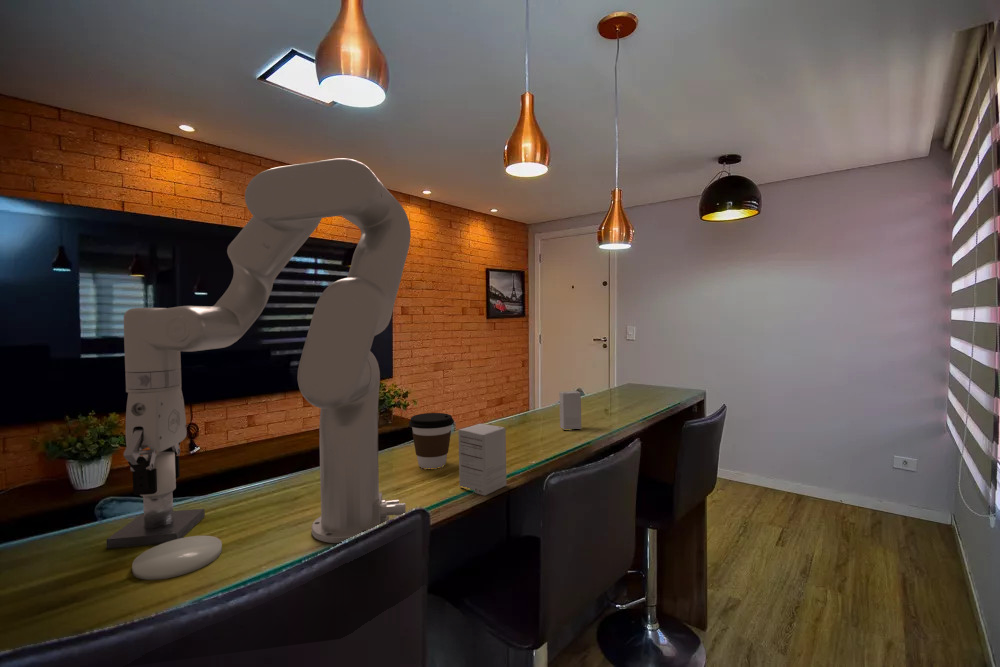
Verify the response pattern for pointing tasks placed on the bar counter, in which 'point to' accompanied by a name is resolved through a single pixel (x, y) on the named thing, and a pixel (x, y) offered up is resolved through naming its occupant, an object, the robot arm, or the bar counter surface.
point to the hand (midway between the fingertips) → (157, 485)
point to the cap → (164, 472)
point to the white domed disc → (176, 557)
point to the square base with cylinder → (156, 523)
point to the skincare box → (570, 410)
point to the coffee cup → (431, 438)
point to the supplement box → (482, 458)
